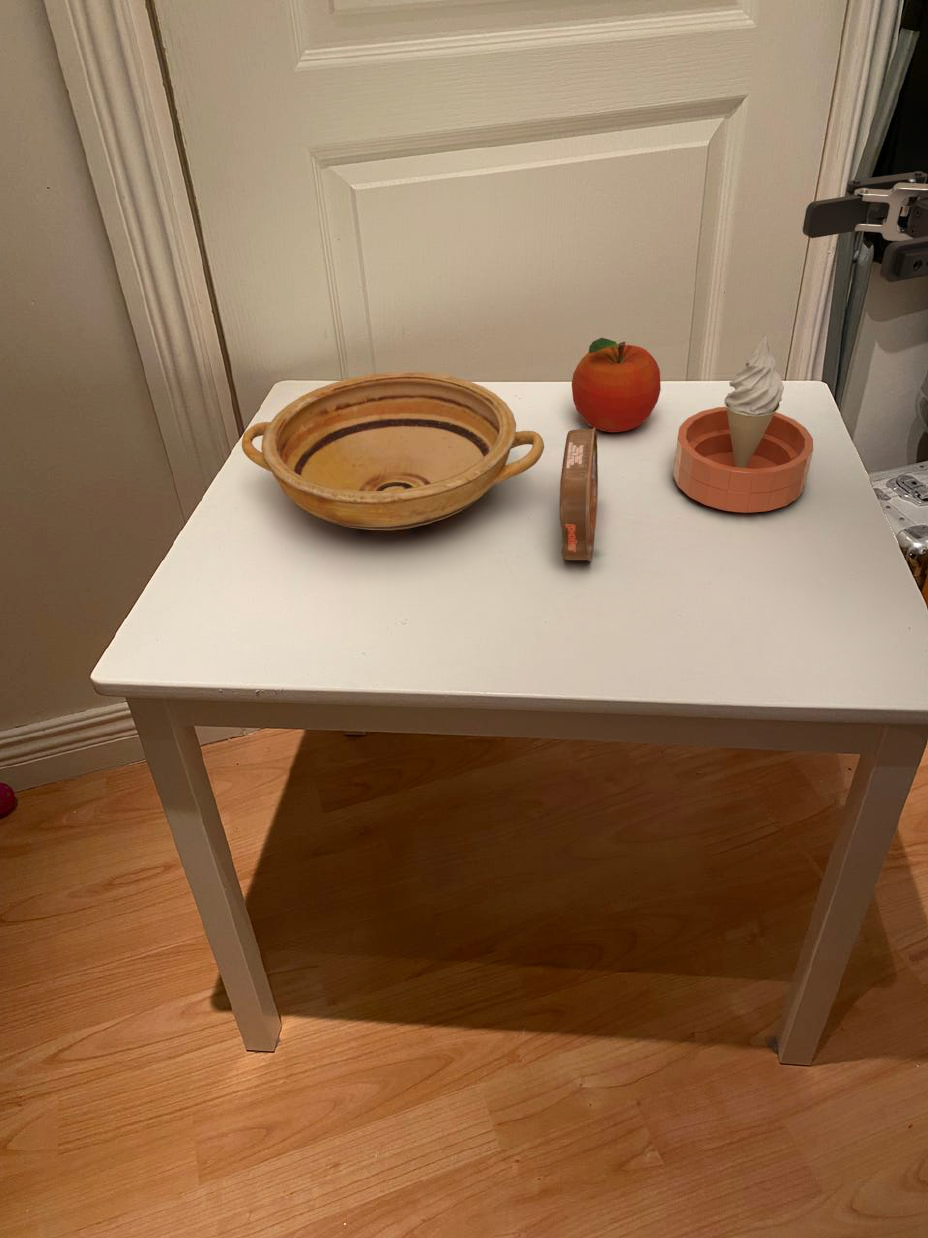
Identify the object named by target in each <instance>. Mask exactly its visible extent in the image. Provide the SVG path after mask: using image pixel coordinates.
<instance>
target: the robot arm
mask: <svg viewBox="0 0 928 1238" xmlns="http://www.w3.org/2000/svg"><path fill="white" fill-rule="evenodd" d="M927 179H928V173H925V172H923V171H920V170H919V171H918V170H917V171H914V172H905V173H898V174H889V175H881V176H874V177H866V178H860V179H857V178H856V179H852V180H848V181H847V183H846V188H845V193H844V196H839V197H838V196H837V197H833V198H827V199H821V200H814V201H811V202H810V203H809V204H808V205H807V206H806V208H805V209H806V210H805V214H804V219H803V224H802V233H803V235H805V236H807V237H808V238H810V239H816V238H821V237H822V238H823V237H828V236H834V235H841V234H845V233H853V232H871V233H880V234H881V235H882V238H883V239H884V240H886V241H891V243H889V244H888V245H887V246H886V248H885V250H884V253H883V258H882V262H881V265H880V269H879V276H880V278H881V279H883V280H884V281H887V282H889V283H894V282H895V283H896V282H901V281H905V280H911V279H918V278H922V277H928V183H927ZM908 214H909V217H908V221H907V227H901V226H899V225H898V221H899V218H900V217H907V216H908ZM881 218H883V219H881Z"/></svg>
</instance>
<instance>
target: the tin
mask: <svg viewBox="0 0 928 1238" xmlns="http://www.w3.org/2000/svg"><path fill="white" fill-rule="evenodd" d="M563 451H564V452H563V457H562V466H561V473H560V483H559V498H558V499H559V503H558V505H559V508H558V509H559V510H558V511H559V512H558V513H559V523H560V528H561V539H562V549H561V556H562V558H563V559H564V560H567V561H588V562H592V560H593V554H594V546H595V545H594V544H595V537H596V536H595V533H596V523H597V515H598V514H597V513H598V495H599V476H598V475H599V470H598V469H599V468H598V467H599V466H598V458H599V457H598V434H597V429H596V428H594V427H592V428H581V429H580V428H579V429H578V428H577V429H571V430H570V429H569V431H568V432H567V435H566V439H565V444H564V450H563Z"/></svg>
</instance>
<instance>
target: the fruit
mask: <svg viewBox="0 0 928 1238" xmlns="http://www.w3.org/2000/svg"><path fill="white" fill-rule="evenodd" d="M661 385H662V384H661V370H660V367H659V365H658V361H656V359H655V358H654V356H653V355H652V354H651V353H650V352H649V351H648V350H647V349H645V348H643V347H642V346H637V345H632V344H626V341H622V342H619V343H617V341H614V340H612V339H608V338H604V337H599V338H597V339H595V340H593V341H592V342H591V344H590V345H589V347H588V352H587V353H586V354H585V355H584V356H583V357H582V358H581V359H580V361H579V362H578V364H577V365H576V367H575V369H574V372H573V373H572V379H571V392H572V393H571V394H572V401H573V403H574V406H575V409H576V411H577V412H578V414H579V415H580V416H581V418H582V419H583V420H584V423H586V424H587V425H589V426H590V427H592V428H596V430H599V431H602V432H607V433H620V432H626V431H631V430H633V429H636V428H637V427H639V426H640V425H642V424H643V423H644V422H645V421H646V420H647V419H649V417H650V416H651V414H652V412H653V411H654V409H655V407H656V405H657V403H658V401H659V398H660V393H661V390H662V388H661V387H662V386H661Z"/></svg>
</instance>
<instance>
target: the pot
mask: <svg viewBox="0 0 928 1238" xmlns="http://www.w3.org/2000/svg"><path fill="white" fill-rule="evenodd" d="M813 453H814V438H813V436H812V435H811V433H810V432H809V430H808V429H807V428H806V427H805V426H804V425H802V424H801V423H800V422H798V421H797V420H795V419H794V418H792V417H790V416H788V415H787V416H786V415H785V414H782V413H780V412H777V411H776V412H775V414H774V416H773V418H772V419H771V421H770V423H769V425H768V427H767V429H766V431H765V433H764V435H763V437H762V439H761V441H760V443H759V445H758V447H757V449H756V451H755V452H754V454H753V456H752V458H751V460H750V462H749V464H748V466H747V468H740V467H735V461H734V454H733V448H732V441H731V435H730V429H729V422H728V415H727V408H726V406H718V407H714V408H713V407H712V408H709V409H705V410H701V411H699V412H697V413H694V414H693V415H691V416H689V417H687V418H686V419H685V420H684V421H683V422H682V424H681V425H680V426H679V428H678V433H677V439H676V447H675V458H674V465H673V473H672V474H673V475H672V476H673V478H674V480H675V483H676V485H677V487H678V488H679V489H680V490H681V491H682V492H683V493H684V494H685V495H687V496H688V497H689V498H691V499H693V500H695V501H697V502H699V503H700V504H702V505H705V506H707V507H711V508H713V509H716V510H717V509H718V510H722V511H725V512H730V513H743V514H747V513H759V512H760V513H762V512H769V511H770V512H771V511H773V510H778V509H780V508H784V507H786V506H788V505H790V504H792V503H793V502H794V501H796V500H798V499H799V498H800V496H801V495H802V493H803V492H804V491H805V488H806V483H807V480H808V475H809V471H810V465H811V462H812V458H813Z"/></svg>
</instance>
